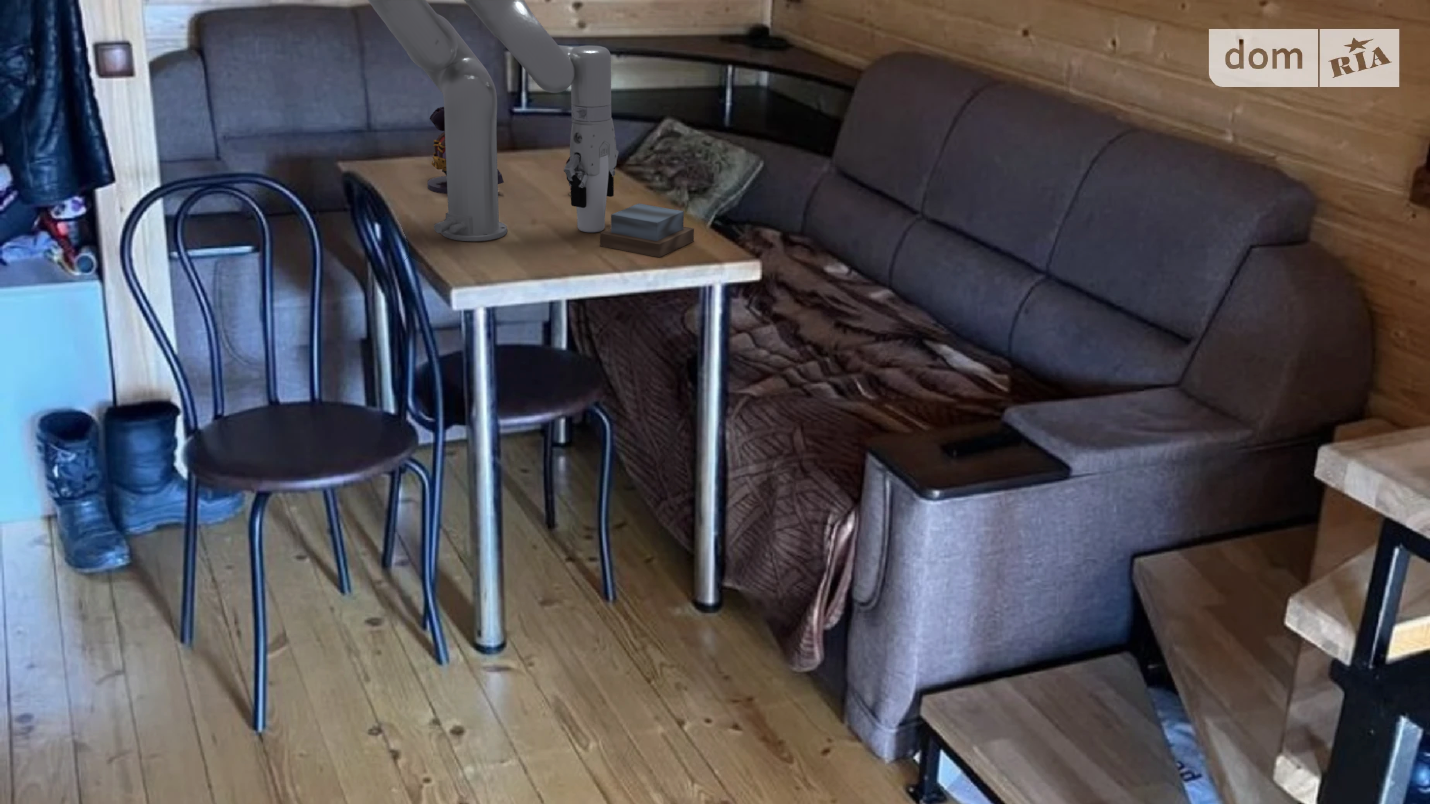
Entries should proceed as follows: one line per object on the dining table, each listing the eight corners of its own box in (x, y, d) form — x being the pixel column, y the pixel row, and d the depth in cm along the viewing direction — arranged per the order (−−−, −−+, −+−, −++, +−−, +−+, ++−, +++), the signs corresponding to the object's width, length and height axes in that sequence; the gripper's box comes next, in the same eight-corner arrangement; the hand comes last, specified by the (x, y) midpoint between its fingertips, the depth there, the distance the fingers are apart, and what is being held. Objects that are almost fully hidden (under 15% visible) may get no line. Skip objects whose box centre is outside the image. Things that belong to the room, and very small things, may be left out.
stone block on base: (659, 257, 266) (660, 225, 263) (600, 245, 271) (600, 215, 269) (693, 241, 276) (694, 210, 274) (635, 230, 282) (636, 200, 280)
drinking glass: (590, 223, 286) (590, 148, 280) (615, 229, 282) (616, 154, 276) (566, 229, 281) (565, 153, 275) (591, 236, 277) (591, 159, 271)
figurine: (506, 195, 303) (504, 117, 297) (442, 201, 298) (438, 121, 291) (478, 174, 320) (475, 99, 314) (417, 179, 314) (413, 102, 308)
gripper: (583, 123, 264) (584, 213, 271) (632, 107, 278) (632, 194, 285) (549, 118, 267) (551, 208, 274) (599, 103, 281) (600, 189, 288)
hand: (592, 201), depth 279 cm, fingers open, 9 cm apart
